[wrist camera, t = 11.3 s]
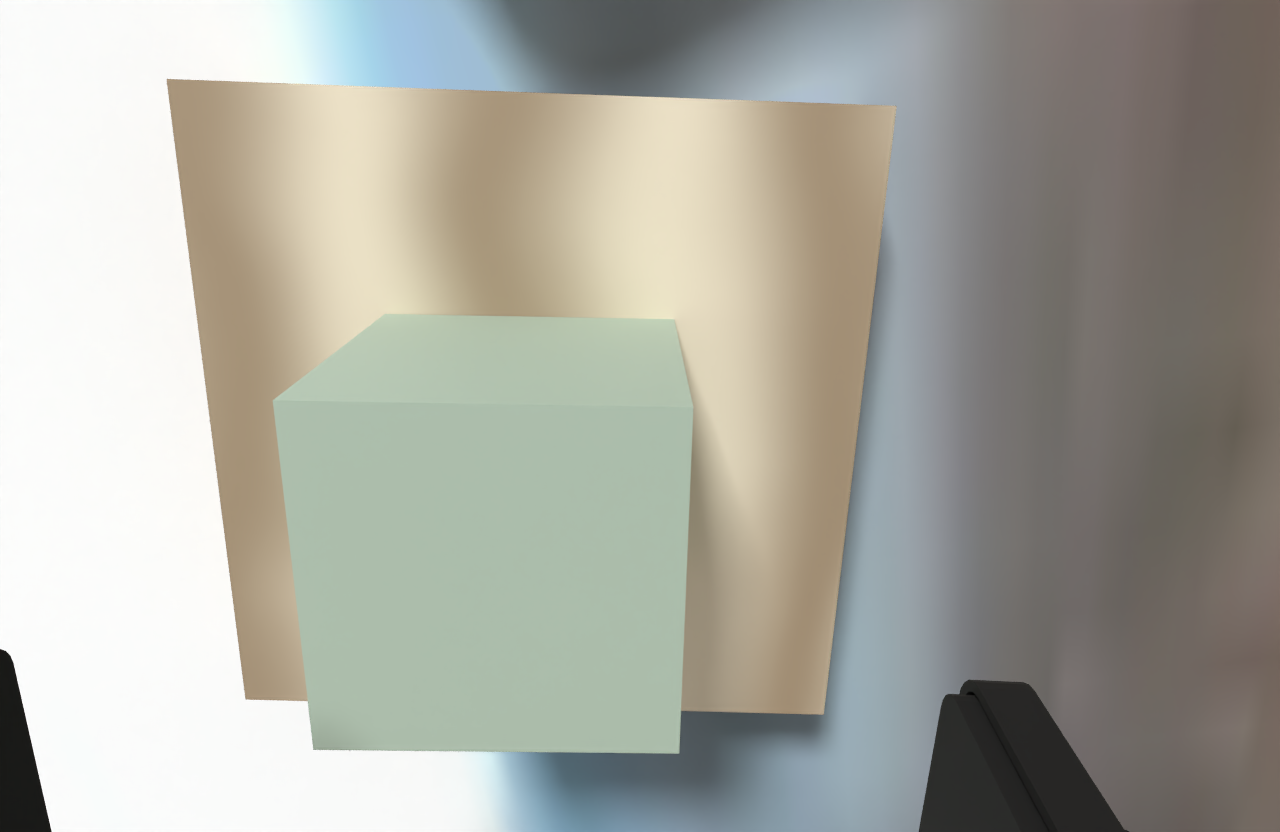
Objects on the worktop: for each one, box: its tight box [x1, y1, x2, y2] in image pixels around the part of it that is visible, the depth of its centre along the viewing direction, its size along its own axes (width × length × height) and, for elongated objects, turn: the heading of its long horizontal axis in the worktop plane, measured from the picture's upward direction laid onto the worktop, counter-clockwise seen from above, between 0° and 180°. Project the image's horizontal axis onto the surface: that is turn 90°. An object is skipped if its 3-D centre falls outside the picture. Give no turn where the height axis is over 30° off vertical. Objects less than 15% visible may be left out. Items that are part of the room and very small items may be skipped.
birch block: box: [167, 79, 896, 715], centre depth 21 cm, size 14×14×4 cm
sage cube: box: [273, 314, 693, 754], centre depth 16 cm, size 6×6×6 cm
